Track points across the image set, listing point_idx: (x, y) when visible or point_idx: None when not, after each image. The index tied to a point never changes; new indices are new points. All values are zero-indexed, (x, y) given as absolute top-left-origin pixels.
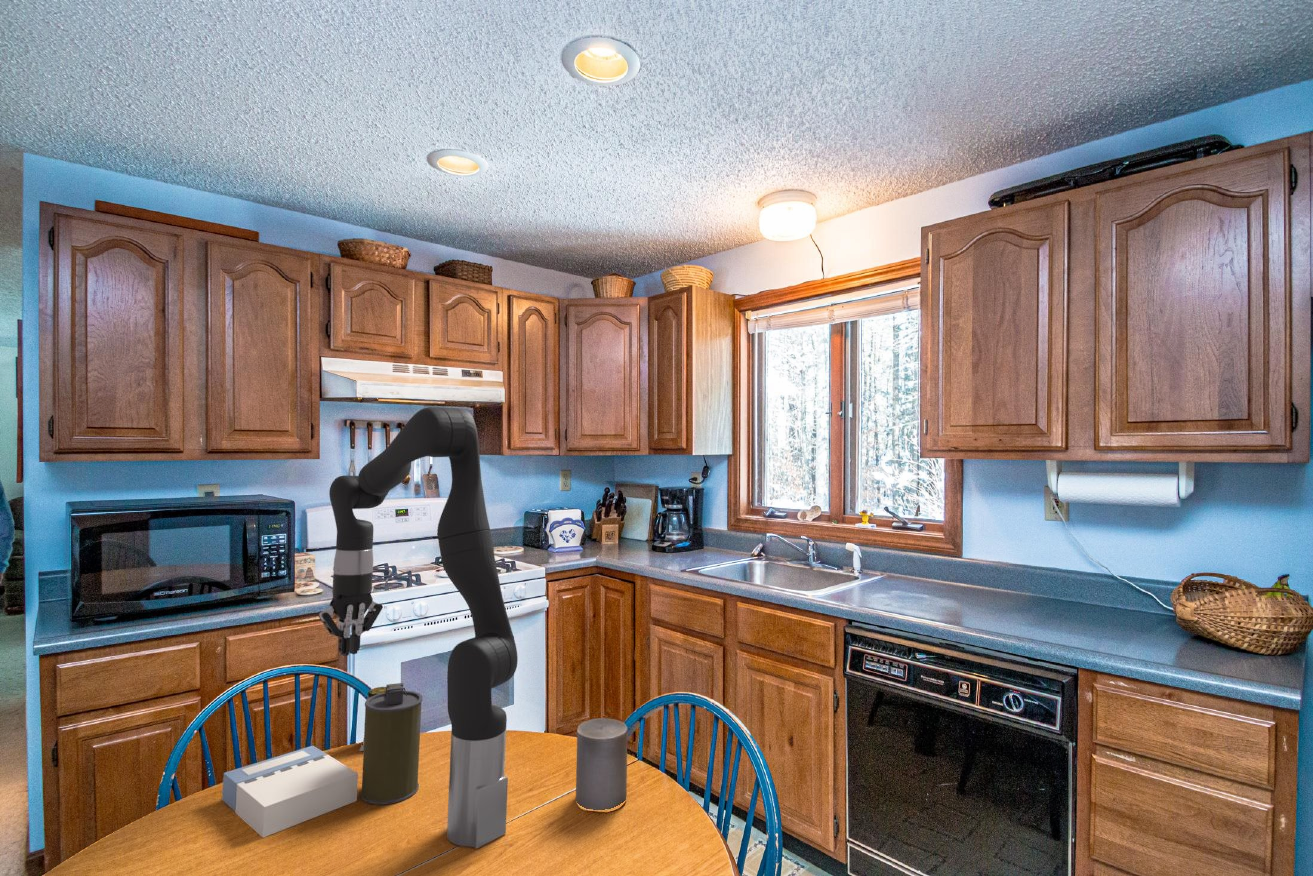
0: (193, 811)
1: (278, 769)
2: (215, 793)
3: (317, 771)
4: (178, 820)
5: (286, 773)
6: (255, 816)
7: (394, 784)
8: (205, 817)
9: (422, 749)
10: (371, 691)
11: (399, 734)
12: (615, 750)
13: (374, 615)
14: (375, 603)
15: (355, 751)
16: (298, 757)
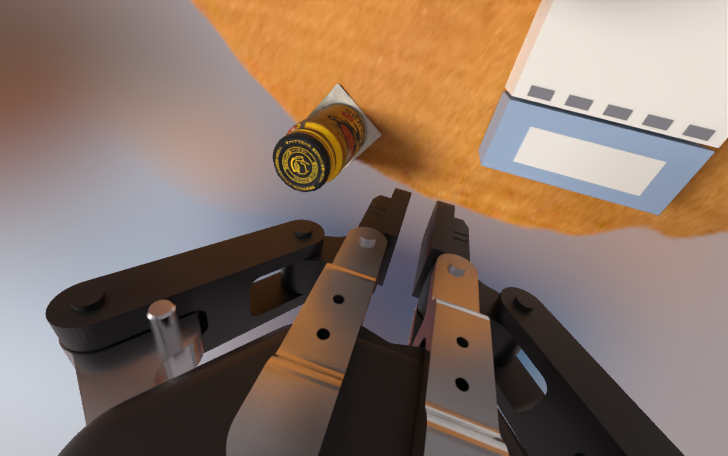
0: (681, 202)
1: (620, 128)
2: (605, 222)
3: (613, 27)
4: (722, 197)
5: (639, 92)
6: None
7: None
8: (705, 165)
9: (310, 23)
10: (316, 179)
11: None
12: None
13: (201, 271)
14: (89, 376)
15: (383, 142)
16: (549, 140)
